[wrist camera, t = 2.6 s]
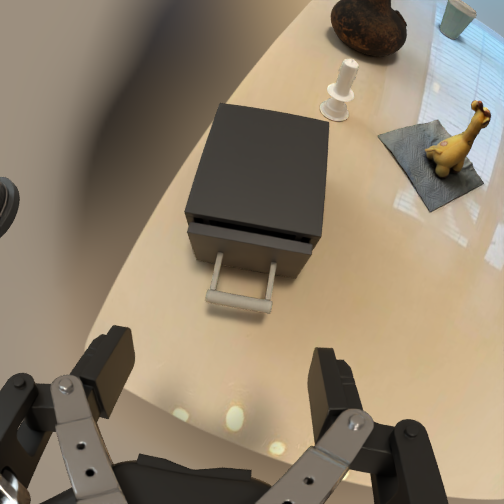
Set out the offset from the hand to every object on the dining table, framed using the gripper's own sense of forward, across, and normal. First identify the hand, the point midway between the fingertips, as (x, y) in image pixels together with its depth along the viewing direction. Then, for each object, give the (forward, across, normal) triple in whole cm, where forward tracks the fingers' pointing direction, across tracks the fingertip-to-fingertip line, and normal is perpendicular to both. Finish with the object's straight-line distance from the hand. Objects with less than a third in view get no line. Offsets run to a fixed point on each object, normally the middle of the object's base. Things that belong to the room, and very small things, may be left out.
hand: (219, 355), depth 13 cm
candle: (+47, -13, -14) cm, 51 cm away
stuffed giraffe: (+43, -32, -9) cm, 55 cm away
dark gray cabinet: (+33, -1, +1) cm, 33 cm away
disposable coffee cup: (+85, -59, -54) cm, 117 cm away
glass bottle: (+66, -22, -34) cm, 77 cm away
